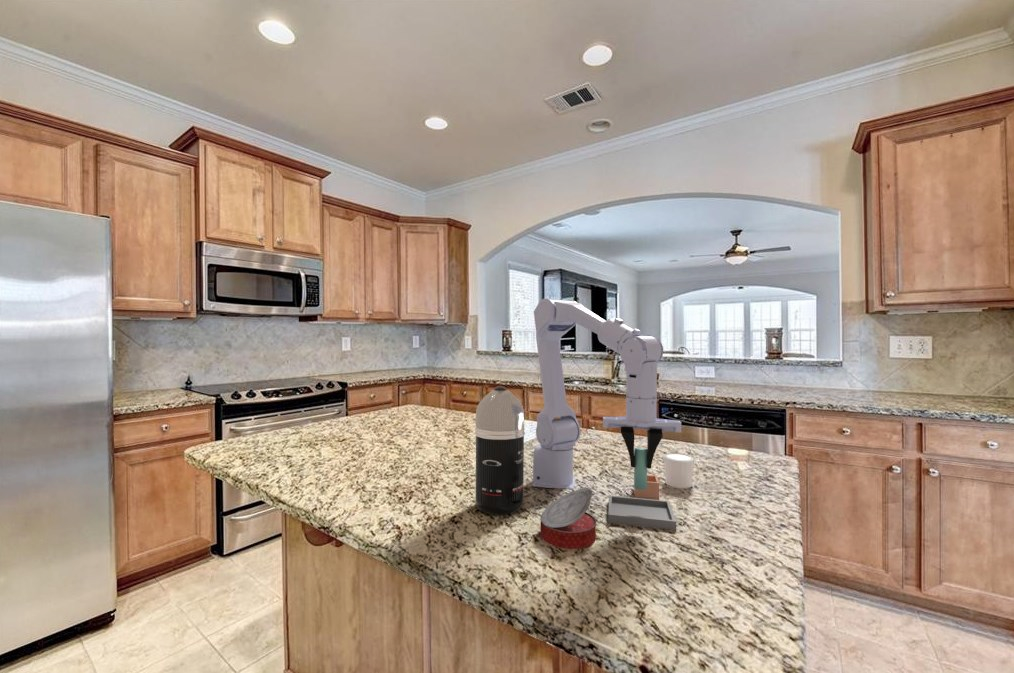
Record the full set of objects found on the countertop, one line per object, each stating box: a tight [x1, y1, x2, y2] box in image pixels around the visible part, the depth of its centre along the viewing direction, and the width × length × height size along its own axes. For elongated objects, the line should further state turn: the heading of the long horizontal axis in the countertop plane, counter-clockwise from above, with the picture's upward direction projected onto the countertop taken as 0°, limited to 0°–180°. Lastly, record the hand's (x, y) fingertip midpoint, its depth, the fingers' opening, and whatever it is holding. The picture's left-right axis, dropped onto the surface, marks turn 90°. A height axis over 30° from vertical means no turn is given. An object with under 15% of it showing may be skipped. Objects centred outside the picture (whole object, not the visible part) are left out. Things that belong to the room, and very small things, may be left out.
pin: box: [633, 447, 648, 490], centre depth 84 cm, size 2×2×8 cm
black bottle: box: [474, 385, 526, 516], centre depth 89 cm, size 10×10×25 cm
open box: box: [633, 474, 660, 500], centre depth 96 cm, size 5×5×4 cm
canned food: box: [539, 487, 597, 550], centre depth 77 cm, size 11×10×10 cm
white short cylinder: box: [663, 452, 695, 489], centre depth 102 cm, size 7×7×7 cm
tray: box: [607, 495, 677, 531], centre depth 84 cm, size 12×10×2 cm
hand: (640, 466), depth 84 cm, fingers closed on pin, 2 cm apart
